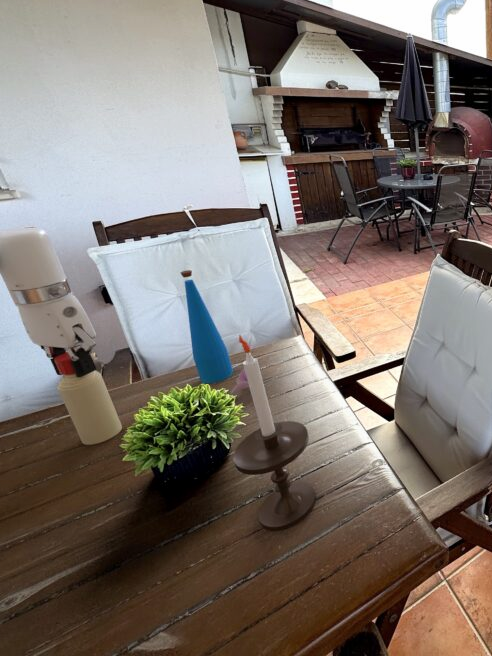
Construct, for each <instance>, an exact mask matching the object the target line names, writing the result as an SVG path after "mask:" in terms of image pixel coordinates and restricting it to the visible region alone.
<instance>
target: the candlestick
mask: <svg viewBox="0 0 492 656" xmlns="http://www.w3.org/2000/svg"><path fill="white" fill-rule="evenodd" d="M238 337H239V338H238V343H240V344H241V347H242V348H243V351H244V352H245V356H246V357H245V360H244V361H243V362H242V365H243V369H245V372H246V376H247V380H248V384H249V387H248V388H249V390H250V391H249V392H250V394H251V398H252V401H253V405H254V409H255V413H256V416H257V420H258V424H259V427H260V428H258V429H256V430H255V431H253V432H252V433H250V434H249V435H247V436H246V437H245V438H244V439H243V440H242V441H240V443H239V444H238V445H237V446H236V448H235V450H234V452H233V456H232V457H233V458H232V459H233V463H234V466H235V468H236V470H237V471H238V472H240V473H242V474H243V475H249V476H257V475H258V476H259V475H264V474H269V473H271V476H270V481H271V482H272V483H274V484H275V485H274V491H272V492H271V493H270V494H269V495H268V496H267V497H266V498H265V499H264V500H263V502H262V503H261V505H260V506H259V508H258V509H259V510H258V512H257V513H258V514H257V517H258V520H259V523H260V525H261V527H262V528H263V529H265V530H267V531H271V532H276V531H283V530H286V529H289V528H292V527H294V526H296V525H297V524H299V523H300V522H301V521H303V520H304V519H305V518H306V517H308V516H309V514H310V513H311V512H312V511H313V509H314V507H315V504H316V501H317V495H316V494H317V493H316V490H315V488H314V486H313V485H312V484H310V483H307V482H304V481H296V482H291V479H288V478H289V476H290V470H289V468H287V467H286V466H288V465H290V464H291V463H292V462H294V461H295V460H296V459H297V458H299V457H300V456H301V454H303V452H304V451H305V449H306V448H307V446H308V444H309V440H310V437H309V432H308V429H307V427H306V426H305V425H304V424H303V423H300V422H298V421H293V420H291V421H290V420H286V421H285V420H284V421H278V422H274V419H273V415H272V411H271V408H270V404H269V399H268V396H267V391H266V389H265V388H266V387H265V385H264V380H263V377H262V373H261V369H260V365H259V361H258V360H259V359H258V358H255V357H253V356H252V354H251V348H250V347H251V346H250V345H249V344H248V342H247V341H246V340H245V339H243V337H242V336H241V334H239V335H238ZM257 359H258V360H257Z"/></svg>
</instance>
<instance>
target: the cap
mask: <svg viewBox="0 0 492 656" xmlns="http://www.w3.org/2000/svg"><path fill="white" fill-rule="evenodd" d="M76 351H77V350H75V352H76ZM66 352H67V351H66ZM54 361H55V364H56V366H57V368H58V371H59V373H60V374H61V375H60V376H63V375H69V374H73V373H75V372H74V370H73V368H72V365H71V363H70V361H72V359H71V357H70V355H69V354H68V352H67V353H64V354H61V355H59V356H57V357H56V358H55V359H54Z"/></svg>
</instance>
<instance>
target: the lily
mask: <svg viewBox="0 0 492 656" xmlns="http://www.w3.org/2000/svg"><path fill="white" fill-rule="evenodd" d="M256 359H257V360H259V359H260V358H259V357H258V358H256ZM234 380H235V381H236V385H235V386H234V387H233V388H232V390H231V391H230V393H229V394H228V395H231V396H232V395H233V394H234V393H235V392H238V391H240V390H243V389H246V388H250V387H249V384H248V380H247V376H246V372H245V369H244V368H243V369H242V370H241V372H240V373H239V375H238V376H237V377H236V378H235V379H234Z"/></svg>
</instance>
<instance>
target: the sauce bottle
mask: <svg viewBox="0 0 492 656" xmlns="http://www.w3.org/2000/svg"><path fill="white" fill-rule="evenodd" d="M57 390H58V392H59V395H60V396H61V399H62V401H63V404H64V406H65V408H66V410H67V412H68V414H69V416H70V419H71V421H72V423H73V425H74V428H75V430H76V432H77V434H78V436H79V437H78V438H79V439H80V441H81V443H82V444H83V445H86V446H92V445H96V444H100V443H104V442H105V441H108V440H110V439H112V438H113V437H115V436H117V435H118V434H119V433H120V432H121V430H122V429H123V425H122V423H121V420H120V418H119V415H118V412H117V411H116V408H115V405H114V404H113V401H112V398H111V396H110V393H109V391H108V388H107V386H106V383H105V381H104V378H103V376H102V373H100V372H99V371H98V370H95V371H93V372H91V373H89V374H87V375H85V376H83V377H81V378H79V377H76V374H75V373H73V374H69V375H62V377H61V378H60V380H59V382H58V384H57Z"/></svg>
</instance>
